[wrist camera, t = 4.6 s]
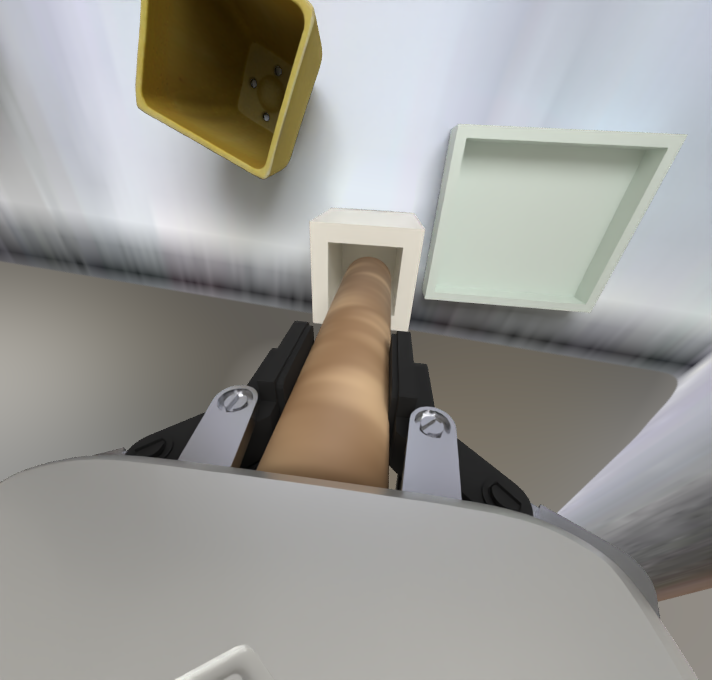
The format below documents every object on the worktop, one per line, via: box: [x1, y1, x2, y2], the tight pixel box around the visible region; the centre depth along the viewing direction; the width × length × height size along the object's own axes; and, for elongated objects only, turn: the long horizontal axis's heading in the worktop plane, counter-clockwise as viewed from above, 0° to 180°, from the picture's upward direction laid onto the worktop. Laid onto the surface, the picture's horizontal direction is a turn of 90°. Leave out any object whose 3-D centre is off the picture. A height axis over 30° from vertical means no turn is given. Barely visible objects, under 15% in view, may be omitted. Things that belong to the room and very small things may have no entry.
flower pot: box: [135, 0, 322, 179], centre depth 19 cm, size 9×9×9 cm
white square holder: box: [309, 208, 425, 331], centre depth 25 cm, size 8×8×9 cm
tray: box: [422, 124, 687, 313], centre depth 25 cm, size 16×14×3 cm
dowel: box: [256, 257, 391, 489], centre depth 13 cm, size 3×3×16 cm
